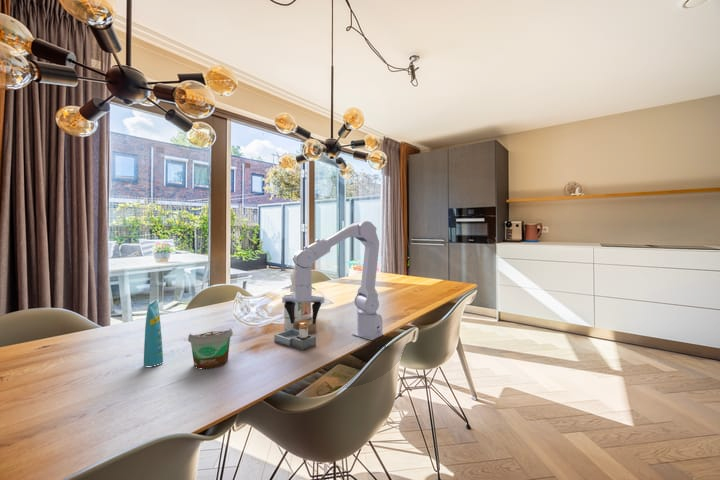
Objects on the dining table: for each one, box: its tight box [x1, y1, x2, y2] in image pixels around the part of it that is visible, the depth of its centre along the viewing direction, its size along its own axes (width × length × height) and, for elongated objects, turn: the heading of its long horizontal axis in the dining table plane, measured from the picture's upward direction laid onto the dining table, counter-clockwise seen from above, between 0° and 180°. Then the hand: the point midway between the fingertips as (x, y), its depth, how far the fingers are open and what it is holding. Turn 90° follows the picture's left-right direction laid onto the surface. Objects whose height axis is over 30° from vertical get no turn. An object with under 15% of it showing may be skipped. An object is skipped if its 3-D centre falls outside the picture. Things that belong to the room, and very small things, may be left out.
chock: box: [293, 319, 317, 335], centre depth 120 cm, size 7×6×4 cm
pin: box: [299, 322, 308, 340], centre depth 105 cm, size 3×3×8 cm
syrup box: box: [283, 291, 301, 331], centre depth 124 cm, size 6×6×14 cm
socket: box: [290, 334, 317, 351], centre depth 105 cm, size 6×6×3 cm
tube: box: [143, 298, 164, 367], centre depth 90 cm, size 7×5×19 cm, turn 26°
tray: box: [273, 329, 299, 347], centre depth 110 cm, size 8×8×2 cm
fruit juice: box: [289, 266, 312, 320], centre depth 139 cm, size 9×9×28 cm
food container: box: [187, 327, 234, 370], centre depth 89 cm, size 12×6×10 cm, turn 117°
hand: (303, 323), depth 105 cm, fingers open, 7 cm apart
